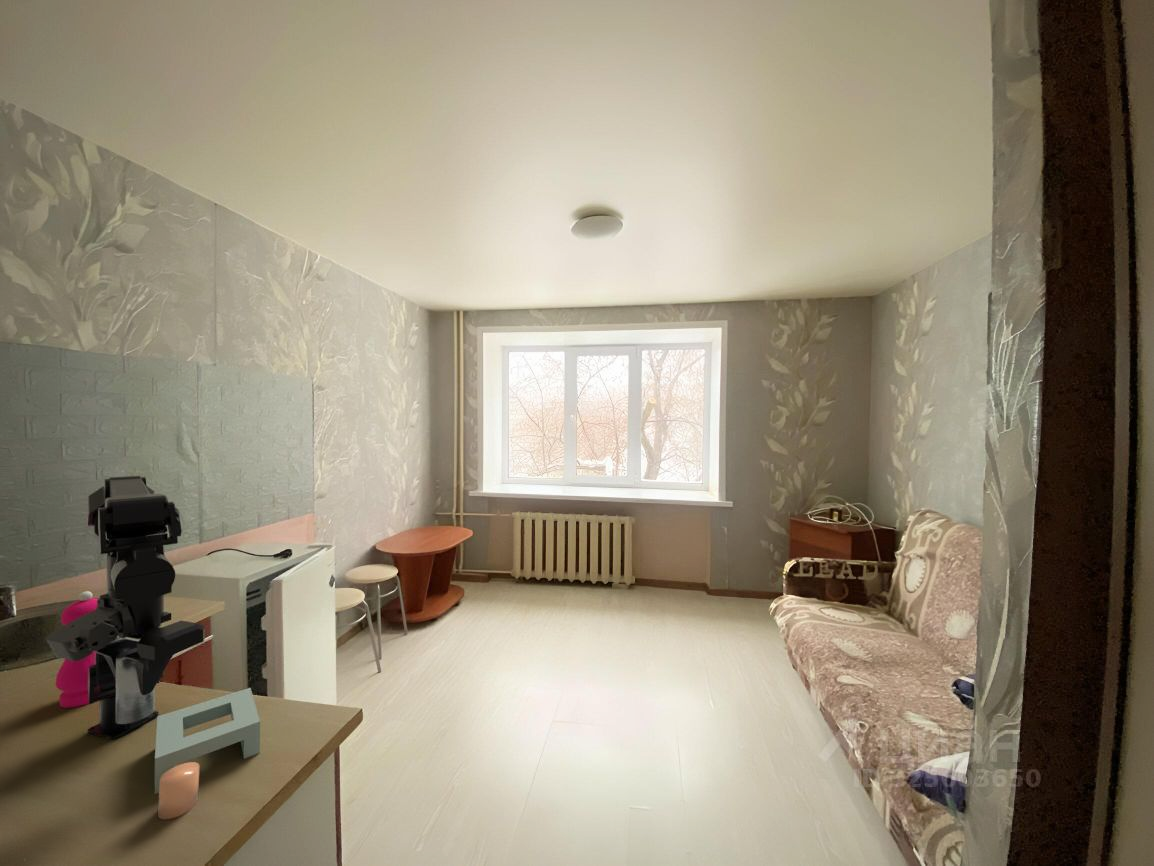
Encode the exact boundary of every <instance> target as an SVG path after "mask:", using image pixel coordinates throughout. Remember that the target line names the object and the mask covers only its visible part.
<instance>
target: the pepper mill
mask: <svg viewBox="0 0 1154 866" xmlns="http://www.w3.org/2000/svg"><path fill="white" fill-rule="evenodd" d="M98 599H99V598H94V597H93V593H92V592H91V591H88V590H87V591H83V592H81V593H80V594H79V595H78V600H77V601H74V602H72V603H71V604H70V605H68V606H67V607H65V609H64V610H63V611H62V613H61V617H60V621H61V624H62V625H63V626H65V625H67V624H68V623H70V622H72V621H74V620H75V619H77V618H79V617H81V616H83V615H85V614H88V613H90V612H92V611H94V610H96V608H97V600H98ZM95 653H96V652H92V653H91V655H89V656H87V657H86V658H84V659H82V660H79V661H75V662H73V661H70V660H68V659H64V660H63V663H62V664H61V665H60V667H59V670H58V672H57V674H56V677H55V687H56V688H57V689H58V690H59V691H61V694H59V706H60V707H61V708H68V709H69V708H70V709H71V708H76V707H81V706H84V705H87V704H88V705H89V699H88V672H89V666H92V665H95ZM95 688H96V687H95Z"/></svg>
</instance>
